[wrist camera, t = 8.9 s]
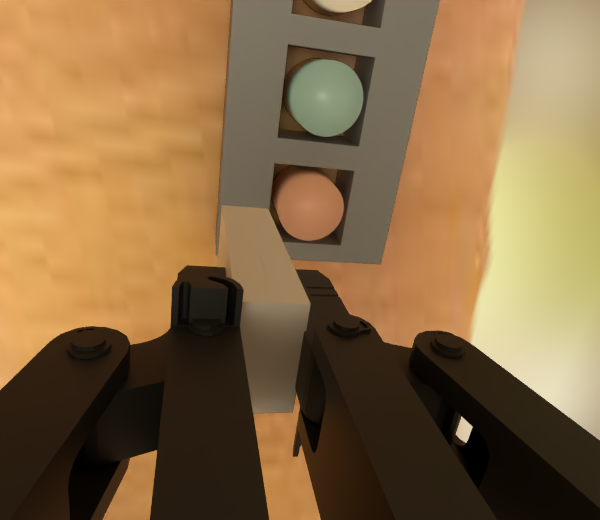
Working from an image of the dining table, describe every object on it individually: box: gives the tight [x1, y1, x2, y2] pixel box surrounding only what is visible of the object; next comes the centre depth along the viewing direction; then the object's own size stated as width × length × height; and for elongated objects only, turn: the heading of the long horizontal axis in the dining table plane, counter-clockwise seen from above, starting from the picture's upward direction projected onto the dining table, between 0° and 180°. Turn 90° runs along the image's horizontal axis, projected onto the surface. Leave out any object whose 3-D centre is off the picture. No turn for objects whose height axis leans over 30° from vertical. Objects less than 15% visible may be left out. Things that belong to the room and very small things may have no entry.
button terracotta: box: [272, 165, 344, 241], centre depth 33 cm, size 4×4×4 cm
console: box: [216, 0, 440, 264], centre depth 31 cm, size 12×22×4 cm, turn 172°
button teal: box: [283, 58, 363, 137], centre depth 30 cm, size 4×4×4 cm
